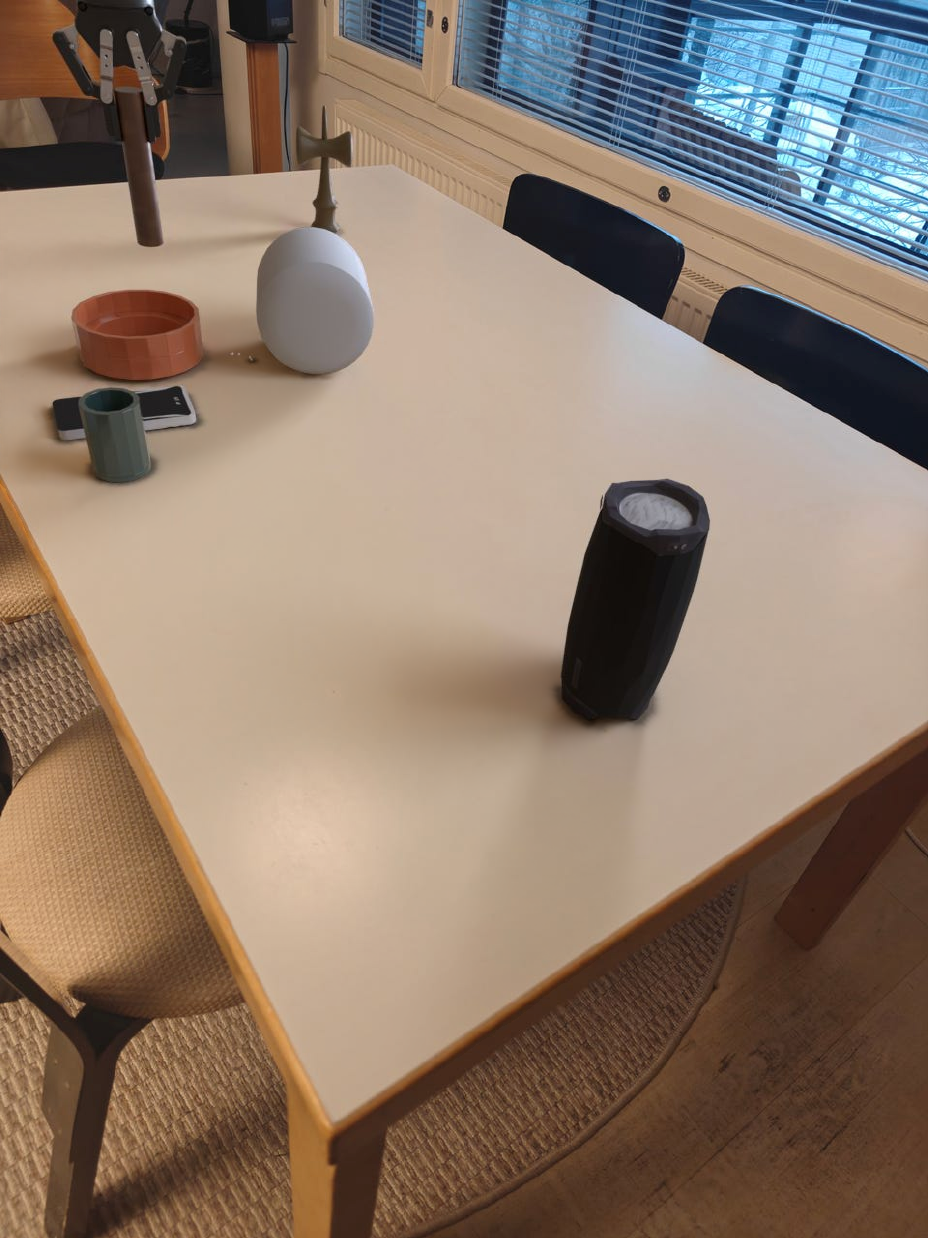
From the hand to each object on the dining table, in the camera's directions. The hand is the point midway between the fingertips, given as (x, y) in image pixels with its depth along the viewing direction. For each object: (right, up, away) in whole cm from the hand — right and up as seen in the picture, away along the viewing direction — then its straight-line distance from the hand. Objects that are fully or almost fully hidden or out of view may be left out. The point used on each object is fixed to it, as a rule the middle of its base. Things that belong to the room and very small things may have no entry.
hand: (135, 139), depth 96 cm
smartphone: (-3, -30, +5) cm, 30 cm away
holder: (0, -37, -3) cm, 37 cm away
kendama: (+12, +17, +60) cm, 63 cm away
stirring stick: (-1, -8, +7) cm, 11 cm away
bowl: (-5, -19, +17) cm, 26 cm away
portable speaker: (+49, -60, -22) cm, 80 cm away
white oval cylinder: (+14, -15, +25) cm, 32 cm away
